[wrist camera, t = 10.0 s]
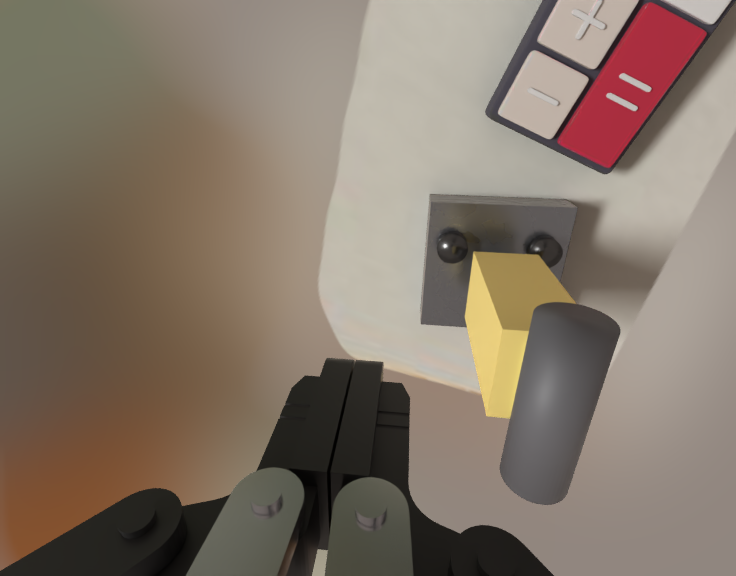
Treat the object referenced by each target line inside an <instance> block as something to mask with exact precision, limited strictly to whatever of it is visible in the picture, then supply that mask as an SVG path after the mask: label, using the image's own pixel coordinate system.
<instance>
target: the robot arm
mask: <svg viewBox="0 0 736 576" xmlns="http://www.w3.org/2000/svg"><path fill="white" fill-rule="evenodd" d="M409 413H410V397H409V395H408V393H407V392H406V390H405V388H404V386H403V384H402V383H392V382H383V362H376V361H363V360H356V362H355V361H354V360H348V359H335V358H327V359H326V361H325V363H324V366H323V369H322V372H321V375H320V377H316V376H304V377H303V378H302V379H301V380H300V381H299V382H298V383H297V384H295V385H294V386H293V387H292V389H291V391H290V393H289V396H288V398H287V401H286V405H285V406H284V408H283V410H282V413H281V415H280V419H278V422H277V424H276V427H275V429H274V431H273V434H272V436H271V438H270V441H269V443H268V446H267V448H266V450H265V453H264V455H263V457H262V460H261V462H260V464H259V467H258V469H257V471H255V472H253V473H251V474H249V475H248V476H246V477H245V478H244V479H242V480H241V481H240V482H239V483H238V484H237V485H236V487H235V488H234V489H233V491H232V493H231V494H230V495H228V496H226V497H223V498H220V499H216V500H212V501H207V502H201V503H196V504H191V505H186V506H182V505H181V502H180V500H179V498H178V497H177V496H176V494H174V493H173V492H171V491H169V490H166V489H161V488H158V489H157V488H153V489H147V490H143V491H139V492H137V493H134V494H132V495H130V496H128V497H126V498H124V499H122V500H121V501H119V502H117V503H115V504H114V505H112V506H111V507H109V508H107V509H105V510H104V511H102V512H100V513H99V514H97V515H95V516H93V517H92V518H90V519H88V520H86V521H85V522H83V523H81V524H80V525H78V526H76V527H74V528H73V529H71V530H70V531H68V532H66V533H64V534H63V535H61V536H59V537H57V538H56V539H54V540H52V541H51V542H49V543H47V544H46V545H44V546H42V547H40V548H39V549H37V550H35V551H34V552H32V553H30V554H28V555H27V556H25V557H23V558H22V559H20V560H19V561H17V562H15V563H13V564H11V565H10V566H8V567H6V568H5V569H3V570H1V571H0V576H312V572H313V567H314V563H315V558H316V554H317V549H322V550H328V553H327V561H326V570H325V576H554V575H553V574H552V573H551V572H550V571H549V570H548V569H547V568H546V567H545V566H544V565H543V564H542V563H541V562H540V561H539V560H538V559H537V558H536V557H535V556H534V555H533V554H532V553H531V552H530V550H529V549H528V548H527V547H526V546H525V545H524V544H523V543H521V542H520V541H519V540H518V539H517V538H516V537H514V536H513V535H512V534H510V533H508V532H506V531H504V530H502V529H499V528H497V527H493V526H486V525H480V526H474V527H471V528H468V529H466V530H465V531H463V532H462V533H461V534H460V533H457V532H455V531H453V530H451V529H448V528H446V527H444V526H442V525H439V524H438V523H436V522H434V521H432V520H431V519H429V518H428V517H426V516H425V515H424V514H423V513H422V512H421V511H420V510H419V509H418V508H417V506H416V505H415V503H414V501H413V500H412V497H411V495H410V491H409V485H408V471H409Z"/></svg>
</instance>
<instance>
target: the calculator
mask: <svg viewBox="0 0 736 576" xmlns="http://www.w3.org/2000/svg"><path fill="white" fill-rule="evenodd" d="M735 1H736V0H543V1H542V3H541V5H540V7H539V9H538V10H537V12H536V14H535V16H534V18H533V20H532V22H531V24H530V26H529V28H528V29H527V31H526V33H525V35H524V37H523V39H522V41H521V43H520V45H519V46H518V48H517V50H516V52H515V54H514V56H513V58H512V60H511V62H510V64H509V66H508V68H507V69H506V71H505V73H504V75H503V77H502V79H501V81H500V83H499V85H498V87H497V89H496V91H495V92H494V94H493V96H492V98H491V100H490V102H489V104H488V106H487V108H486V111H485V113H486V115H487V116H488V117H489V118H490V119H492V120H494V121H496V122H498V123H500V124H502V125H504V126H506V127H508V128H510V129H512V130H514V131H516V132H518V133H520V134H522V135H524V136H526V137H528V138H530V139H532V140H535V141H537V142H539V143H541V144H543V145H545V146H547V147H549V148H551V149H553V150H555V151H557V152H559V153H561V154H563V155H565V156H567V157H569V158H571V159H573V160H575V161H577V162H579V163H581V164H584V165H586V166H588V167H590V168H592V169H594V170H596V171H598V172H600V173H602V174H608V173H610V172H611V171H612V170H613V168H614V167H615V166H616V164H617V163H618V161H619V160H620V159H621V157H622V156H623V155H624V153H625V152H626V151H627V149H628V148H629V146H630V145H631V144H632V142H633V141H634V140H635V138H636V137H637V135H638V134H639V133H640V131H641V130H642V129H643V127H644V126H645V124H646V123H647V122H648V120H649V119H650V118H651V116H652V115H653V114H654V112H655V111H656V109H657V108H658V107H659V105H660V104H661V103H662V101H663V100H664V98H665V97H666V96H667V94H668V93H669V92H670V90H671V89H672V88H673V86H674V85H675V83H676V82H677V81H678V79H679V78H680V77H681V75H682V74H683V72H684V71H685V70H686V68H687V67H688V66H689V64H690V63H691V61H692V60H693V59H694V57H695V56H696V55H697V53H698V52H699V51H700V49H701V48H702V46H703V45H704V44H705V42H706V41H707V40H708V38H709V37H710V35H711V34H712V33H713V31H714V30H715V29H716V27H717V26H718V24H719V23H720V22H721V20H722V19H723V18H724V16H725V15H726V14H727V12H728V11H729V9H730V8H731V7H732V5H733V4H734V3H735Z"/></svg>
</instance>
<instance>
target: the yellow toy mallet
mask: <svg viewBox="0 0 736 576" xmlns="http://www.w3.org/2000/svg"><path fill="white" fill-rule="evenodd" d="M465 321H466V325H467V330H468V334H469V339H470V343H471V348H472V352H473V357H474V361H475V366H476V371H477V375H478V380H479V384H480V389H481V393H482V398H483V402H484V406H485V411H486V416H490V417H501V418H510V421H509V426H508V430H507V435H506V440H505V444H504V449H503V454H502V458H501V463H500V473H501V476H502V478H503V480H504V482H505V483H506V485H507V486H508V487H509V488H510V489H511V490H512V491H513V492H514V493H516V494H517V495H518V496H520V497H521V498H524V499H525V500H527V501H530V502H533V503H536V504H543V505H551V504H555V503H558V502H560V501H562V500H563V499H564V498H565V496H566V495H567V493H568V489H569V486H570V483H571V480H572V477H573V474H574V471H575V468H576V465H577V462H578V459H579V456H580V453H581V450H582V447H583V444H584V441H585V438H586V435H587V432H588V429H589V426H590V423H591V420H592V417H593V414H594V411H595V407H596V405H597V401H598V399H599V396H600V392H601V390H602V387H603V383H604V380H605V377H606V374H607V371H608V368H609V365H610V362H611V359H612V356H613V353H614V350H615V347H616V344H617V341H618V338H619V335H620V327H619V325H618V324H617V323H616V322H615V321H614V320H613V319H612V318H610V317H609V316H607V315H605V314H604V313H602V312H600V311H597V310H595V309H592V308H589V307H586V306H582V305H578V304H576V303H575V301H574V300H573V299H572V297H571V296H570V295H569V294H568V292H567V291H566V290H565V288H564V287H563V286H562V285H561V283H560V282H559V281H558V279H557V278H556V277H555V275H554V274H553V273H552V272H551V270H550V269H549V268H548V266H547V265H546V264H545V263H544V261H543V260H542V259H541V257H540V256H539V255H533V254H514V253H494V252H474V253H473V260H472V267H471V275H470V282H469V290H468V297H467V304H466V312H465Z"/></svg>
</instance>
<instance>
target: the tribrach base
mask: <svg viewBox="0 0 736 576" xmlns="http://www.w3.org/2000/svg"><path fill="white" fill-rule="evenodd" d="M577 209H578V208H577V207H576V206H574V205H573V204H572V203H570V202H569V201H567V200H566V199H540V198H514V197H488V196H461V195H435V194H430V198H429V211H428V223H427V235H426V248H425V260H424V272H423V285H422V297H421V324H426V325H441V326H456V327H467V325H466V321H465V312H466V304H467V297H468V290H469V282H470V275H471V267H472V260H473V253H474V252H494V253H514V254H533V255H539V256H540V257H541V259H542V260H543V261H544V263H545V264H546V265H547V266H548V268H549V269H550V270H551V272H552V273H553V274H554V275H555V277H556V278H557V279H558V281H559V282H560V280H561V276H562V272H563V268H564V263H565V259H566V255H567V251H568V247H569V243H570V238H571V234H572V230H573V226H574V222H575V218H576V213H577Z"/></svg>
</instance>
